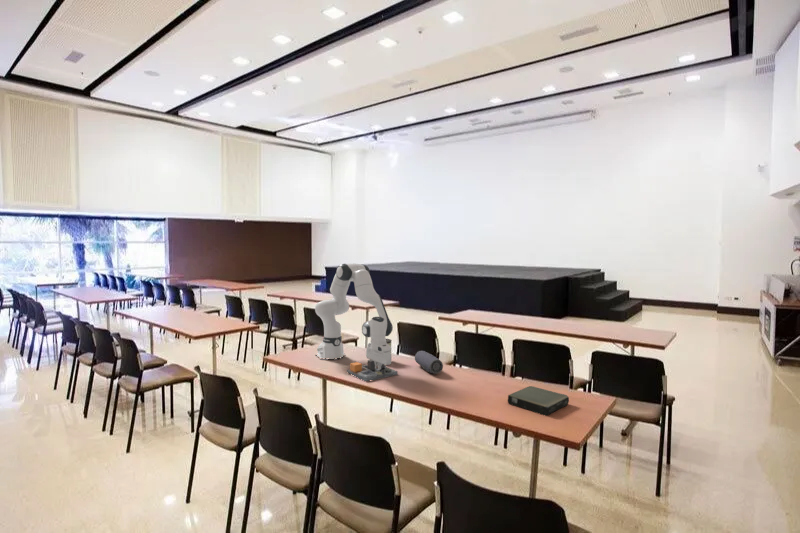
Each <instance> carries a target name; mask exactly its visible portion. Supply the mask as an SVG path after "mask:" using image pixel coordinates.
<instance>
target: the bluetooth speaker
mask: <svg viewBox="0 0 800 533" xmlns="http://www.w3.org/2000/svg"><path fill="white" fill-rule="evenodd" d="M414 360H415V362H416V363H417V364H418V365H419V366H420V367H422V368H423V370H424V371H426V372H428V373H430V374H434V375H435V374H439V373H441V372H442V371H443V368H444V364H443V361H441V360H440V359H439V358H437V357H436V356H435V355H433V354H431V353H429V352H426V351H425V350H418V351H417V352H416V353H415V356H414Z"/></svg>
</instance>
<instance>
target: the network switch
mask: <svg viewBox="0 0 800 533" xmlns="http://www.w3.org/2000/svg"><path fill="white" fill-rule="evenodd" d="M569 402H570V398H569V396H568V395H567V394H564V393H559V392H557V391H552V390H548V389H544V388H540V387H536V386H533V385H529V386H526V387H525V388H522V389H520V390H517V391H515V392H511V393H510V394H508V395H507V404H508V405H511V406H515V407H518V408H522V409H525V410H529V411H532V412H533V413H537V414H539V413H540V414H539V415H542V414H543V415H542V416H544V415H545V417H546V416H549V415H551V414H553V413H554V412H557V411H558V410H560V409H562V408H563V407H567V406H568V404H569Z"/></svg>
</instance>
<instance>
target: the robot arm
mask: <svg viewBox="0 0 800 533" xmlns="http://www.w3.org/2000/svg"><path fill="white" fill-rule="evenodd" d="M370 272H371V271H370V268H369V267H368V265H366V264H359V263H342V264H341V263H340V264H339V265H338V266H337V268H336V272H335V275H334V277H333V280H332V282H331V285H330V288H329V292H330V294H331V296H332V298H331V299H324V300H321V301H318V302H316V304H315V306H314V307H315V308H314V312H315V314H316V315H317V317H319V318H320V319H321V321H322V323H323V333H324V334H323V336H322V342H321V343H320V344H318V346H317V350H316V351H317V352H318V353H317V354H318V355H317V356H319V357H320V358H329V359H334V358H340V357H343V355H344V354H345V355H346V353H345V352H344V344H343V343H342V339H343V337H342V326H341V325H342V324H341V323H340V322H339V321H338V320H337V319H336V316H339V315H343V314H345V313H347V312H349V309H350V303H349V301H348V300H347V293H348V290H349V287H350V286H351V282H353V284H354V291H355V294H356V295H355V296H356V297H357V298H358V300H359V301H361V302H363V303H366V304H370V305H371V306H373V307H375V309H376V311H377V315H378V316H373V317H372V318H371V319H370V320H367V321H364V322H363V324H362V326H361V333H362V334H363V336H364V337H366V338H370V342H369V343H368V344H367V347H366V352H365V353H366V354H365V356H366V359H368V360H373V361H374V363H375V366H376V369H378V370H381V366H382V364H384V365H385V366H389V365H391V364H392V345H391V346H389V345H388V344H387V343H386V339H387V338H386V337H389V336H390V335H391V334H392V332H393V323H392V322H391V320H390V318H389V315H388V313H387V310H386V307H385V304H384V302H383V300H382V297H381V295H380V294H378V293H377V292H376V290H375V288H374V284H373V280H372V277H371V275H370V274H371V273H370ZM390 351H391V352H390ZM345 355H344V356H345ZM317 356H316V357H317ZM343 358H344V357H343ZM340 359H341V358H340ZM334 360H335V359H334Z"/></svg>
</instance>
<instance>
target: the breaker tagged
mask: <svg viewBox="0 0 800 533" xmlns="http://www.w3.org/2000/svg"><path fill="white" fill-rule="evenodd" d="M367 365H368V369H370V370H371V371H372V370H375V363H374V361H373V360H370V359H368V360H367Z"/></svg>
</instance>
